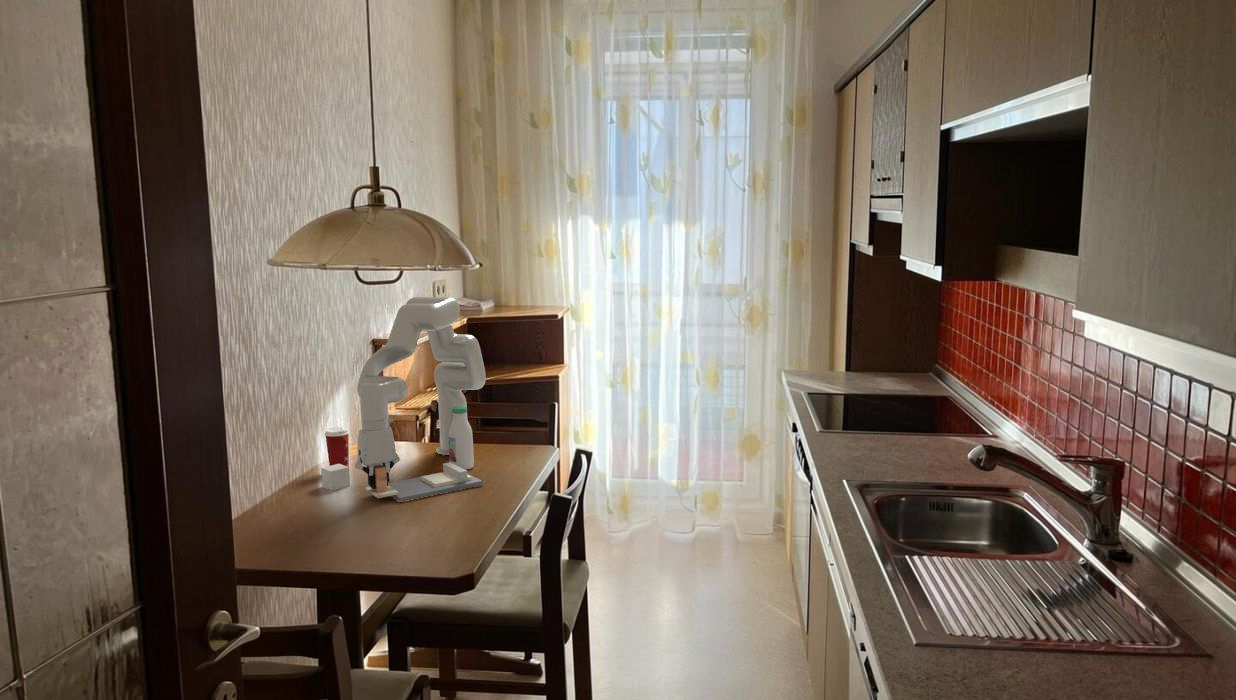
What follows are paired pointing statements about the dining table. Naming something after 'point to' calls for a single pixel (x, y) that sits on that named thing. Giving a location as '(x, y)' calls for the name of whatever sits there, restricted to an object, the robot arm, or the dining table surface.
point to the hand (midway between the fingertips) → (379, 485)
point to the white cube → (335, 477)
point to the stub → (381, 483)
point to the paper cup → (338, 445)
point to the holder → (435, 483)
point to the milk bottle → (461, 439)
